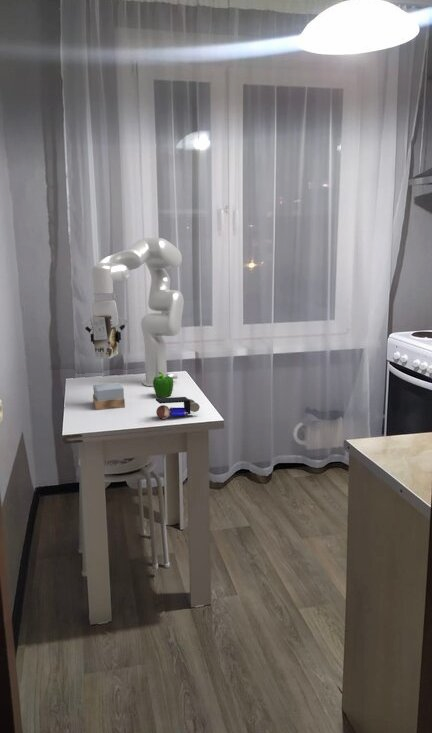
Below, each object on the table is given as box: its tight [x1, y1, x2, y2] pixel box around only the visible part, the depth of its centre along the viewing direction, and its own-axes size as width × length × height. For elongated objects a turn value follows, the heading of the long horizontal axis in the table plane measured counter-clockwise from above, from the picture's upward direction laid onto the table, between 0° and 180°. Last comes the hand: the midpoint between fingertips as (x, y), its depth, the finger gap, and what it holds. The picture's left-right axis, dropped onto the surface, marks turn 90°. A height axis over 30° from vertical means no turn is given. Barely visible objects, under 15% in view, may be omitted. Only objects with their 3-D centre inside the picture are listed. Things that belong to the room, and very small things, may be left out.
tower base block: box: [92, 393, 126, 411], centre depth 227 cm, size 11×11×4 cm
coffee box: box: [93, 316, 119, 360], centre depth 222 cm, size 9×6×16 cm
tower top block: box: [92, 382, 125, 401], centre depth 226 cm, size 10×10×4 cm
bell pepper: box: [153, 372, 174, 398], centre depth 239 cm, size 8×8×10 cm
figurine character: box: [155, 396, 201, 420], centre depth 211 cm, size 7×8×15 cm
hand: (106, 342), depth 223 cm, fingers closed on coffee box, 8 cm apart
